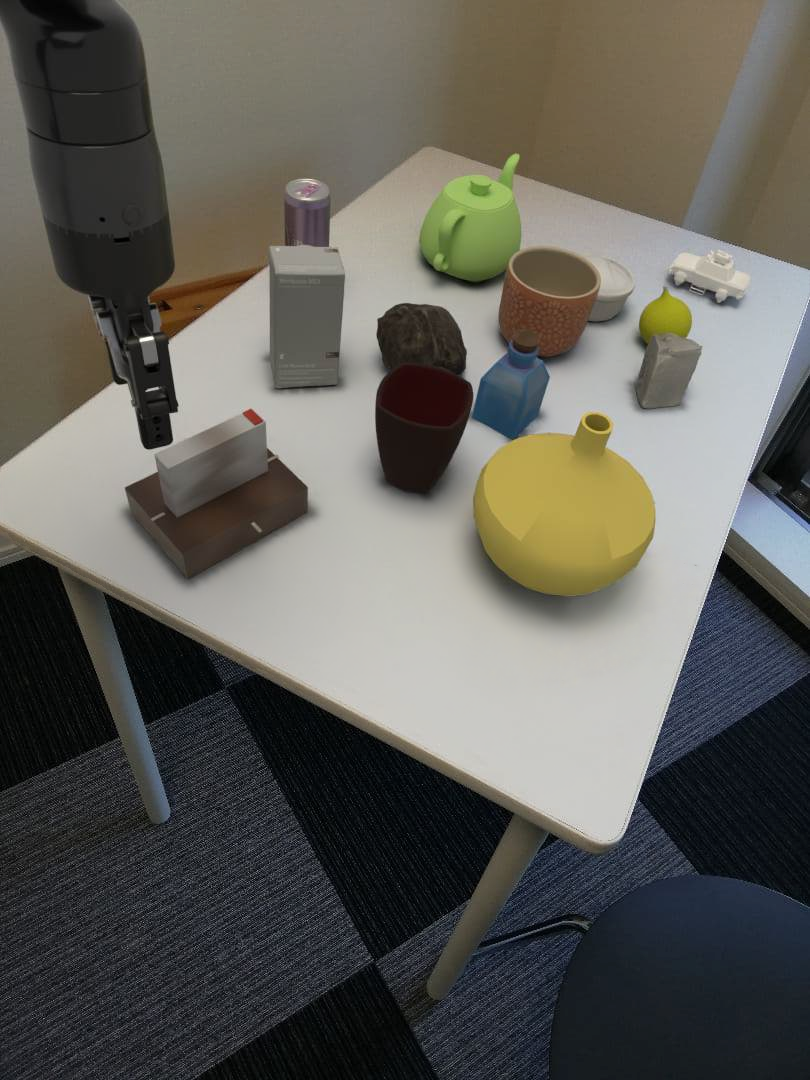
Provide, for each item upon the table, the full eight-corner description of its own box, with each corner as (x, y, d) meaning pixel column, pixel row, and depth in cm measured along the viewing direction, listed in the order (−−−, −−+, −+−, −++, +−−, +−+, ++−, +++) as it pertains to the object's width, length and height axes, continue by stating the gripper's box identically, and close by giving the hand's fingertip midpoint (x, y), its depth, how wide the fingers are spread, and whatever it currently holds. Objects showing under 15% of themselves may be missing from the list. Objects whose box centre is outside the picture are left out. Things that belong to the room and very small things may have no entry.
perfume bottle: (497, 393, 100) (516, 314, 91) (537, 415, 98) (562, 337, 89) (471, 417, 97) (489, 338, 87) (513, 440, 95) (536, 361, 86)
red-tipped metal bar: (177, 518, 76) (167, 466, 71) (164, 503, 77) (153, 452, 72) (268, 470, 82) (265, 420, 76) (255, 457, 83) (251, 406, 77)
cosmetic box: (274, 390, 96) (270, 277, 84) (269, 354, 100) (264, 242, 88) (341, 386, 98) (347, 275, 86) (333, 351, 102) (337, 241, 90)
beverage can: (335, 290, 111) (339, 188, 99) (311, 308, 108) (312, 205, 96) (302, 274, 113) (302, 173, 101) (277, 292, 109) (274, 189, 98)
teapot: (463, 215, 129) (477, 134, 118) (542, 248, 124) (564, 167, 114) (391, 270, 116) (400, 184, 106) (477, 308, 112) (494, 223, 102)
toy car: (672, 267, 125) (689, 228, 120) (744, 294, 122) (764, 255, 117) (661, 283, 121) (677, 244, 116) (734, 312, 118) (754, 272, 113)
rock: (478, 385, 99) (478, 316, 92) (395, 405, 98) (389, 337, 90) (451, 344, 106) (450, 277, 99) (373, 362, 104) (366, 295, 97)
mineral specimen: (700, 397, 103) (716, 352, 96) (644, 419, 102) (656, 375, 95) (669, 362, 107) (682, 317, 100) (615, 383, 106) (624, 338, 99)
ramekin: (639, 315, 115) (651, 283, 111) (585, 335, 110) (596, 303, 106) (588, 276, 121) (598, 245, 116) (535, 294, 116) (544, 262, 112)
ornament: (624, 330, 112) (647, 268, 105) (666, 327, 114) (693, 266, 106) (645, 361, 108) (671, 299, 100) (689, 357, 110) (718, 296, 102)
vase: (629, 640, 78) (706, 517, 63) (451, 604, 78) (486, 473, 63) (627, 508, 89) (691, 379, 75) (472, 477, 90) (506, 343, 75)
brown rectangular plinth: (198, 593, 76) (194, 568, 73) (120, 501, 82) (112, 474, 79) (320, 523, 83) (321, 497, 80) (239, 443, 90) (237, 416, 86)
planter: (538, 380, 103) (559, 309, 94) (473, 332, 108) (488, 262, 100) (596, 348, 109) (621, 279, 100) (532, 304, 114) (551, 236, 106)
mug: (357, 490, 87) (364, 409, 78) (397, 415, 95) (407, 334, 86) (440, 516, 86) (457, 438, 76) (473, 438, 94) (491, 359, 85)
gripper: (19, 162, 50) (71, 371, 62) (65, 263, 42) (115, 481, 54) (135, 153, 53) (164, 354, 65) (199, 245, 45) (219, 456, 57)
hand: (142, 411), depth 59 cm, fingers open, 8 cm apart
